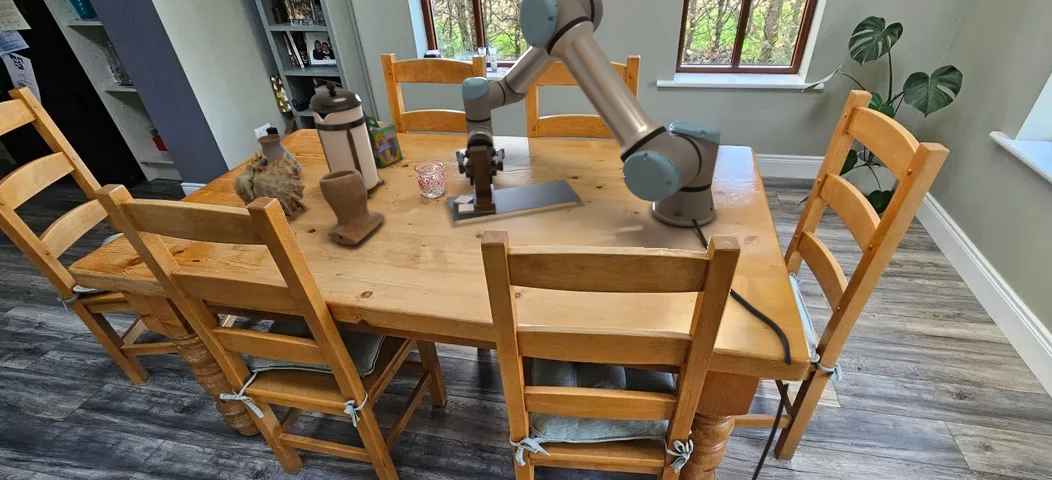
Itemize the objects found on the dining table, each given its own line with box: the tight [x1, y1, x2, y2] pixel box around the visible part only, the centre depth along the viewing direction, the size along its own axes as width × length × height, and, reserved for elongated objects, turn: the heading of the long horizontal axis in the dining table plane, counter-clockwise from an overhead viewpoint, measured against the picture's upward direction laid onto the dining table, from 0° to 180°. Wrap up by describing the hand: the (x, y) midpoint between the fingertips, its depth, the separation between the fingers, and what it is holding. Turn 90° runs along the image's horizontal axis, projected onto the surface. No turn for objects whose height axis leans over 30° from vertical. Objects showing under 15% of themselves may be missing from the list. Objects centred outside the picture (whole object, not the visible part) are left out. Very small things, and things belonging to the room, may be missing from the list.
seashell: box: [232, 148, 308, 220], centre depth 125 cm, size 18×18×15 cm
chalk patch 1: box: [454, 194, 473, 205], centre depth 130 cm, size 4×4×1 cm
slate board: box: [446, 179, 582, 222], centre depth 131 cm, size 14×34×2 cm, turn 108°
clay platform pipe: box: [318, 169, 386, 246], centre depth 117 cm, size 15×12×15 cm
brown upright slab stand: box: [470, 146, 496, 214], centre depth 125 cm, size 12×6×15 cm, turn 7°
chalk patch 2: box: [459, 203, 474, 214], centre depth 126 cm, size 4×4×1 cm
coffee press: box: [308, 81, 385, 199], centre depth 133 cm, size 17×16×30 cm
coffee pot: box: [256, 114, 303, 175], centre depth 148 cm, size 21×12×15 cm, turn 172°
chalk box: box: [366, 115, 403, 169], centre depth 154 cm, size 9×9×15 cm
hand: (481, 179), depth 119 cm, fingers closed on brown upright slab stand, 4 cm apart
